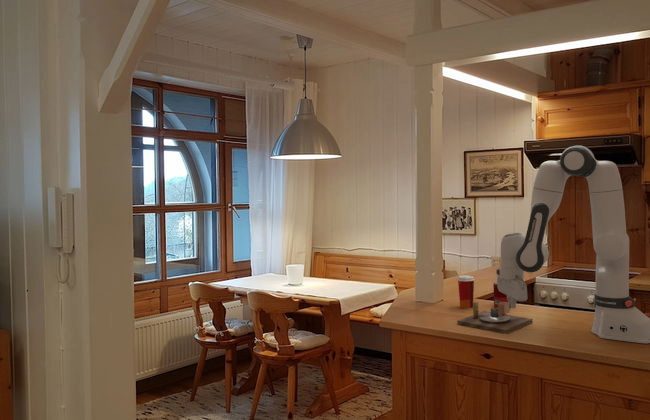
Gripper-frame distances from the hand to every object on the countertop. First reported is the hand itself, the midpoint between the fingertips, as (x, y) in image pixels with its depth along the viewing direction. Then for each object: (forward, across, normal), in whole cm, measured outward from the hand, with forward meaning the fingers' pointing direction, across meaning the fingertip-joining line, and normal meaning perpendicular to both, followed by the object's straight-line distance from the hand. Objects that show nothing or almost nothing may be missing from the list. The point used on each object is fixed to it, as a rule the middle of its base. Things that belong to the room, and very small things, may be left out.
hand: (512, 307), depth 233 cm
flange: (+5, +2, +6) cm, 8 cm away
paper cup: (+7, +30, +8) cm, 32 cm away
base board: (+7, +2, +7) cm, 10 cm away
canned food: (+7, +27, -8) cm, 29 cm away
